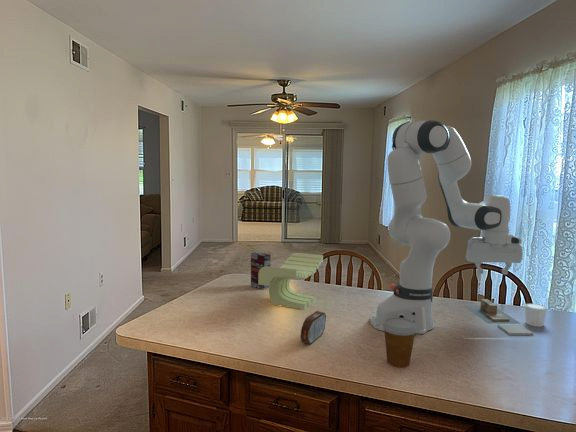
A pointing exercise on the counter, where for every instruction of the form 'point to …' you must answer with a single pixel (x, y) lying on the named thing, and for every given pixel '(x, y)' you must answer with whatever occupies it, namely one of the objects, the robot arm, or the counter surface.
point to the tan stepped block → (492, 311)
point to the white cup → (535, 314)
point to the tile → (514, 329)
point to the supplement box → (258, 267)
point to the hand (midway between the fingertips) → (492, 273)
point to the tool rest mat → (483, 316)
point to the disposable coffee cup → (399, 340)
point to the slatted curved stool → (280, 278)
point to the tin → (313, 327)
